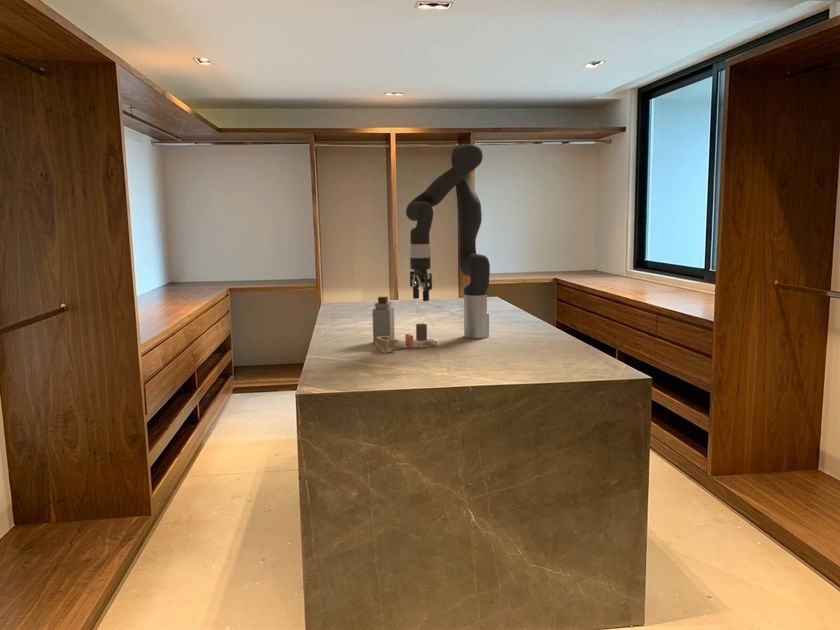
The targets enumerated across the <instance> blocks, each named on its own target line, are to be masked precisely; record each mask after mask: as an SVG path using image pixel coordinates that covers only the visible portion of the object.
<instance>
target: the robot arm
mask: <svg viewBox="0 0 840 630" xmlns="http://www.w3.org/2000/svg"><path fill="white" fill-rule="evenodd" d="M482 150H483V149H481V147H480V146H479V145H477V144H475V143H473V144H472V143H469V144H464V145H457V146H455V147H454V148H453V149H452V152H451V157H450V159H451V167H450V168H449V169H448V170H446V171H444V172H443V173H442V174H441V175H439V176H438V177H437V178H435V179H434V180H433V181H432V182H431V184H429V186H428V187H426V189H425V190H424V191H423V192H421V193H420V194H418V195H417V196H416V197H415V198H413V199H412V200H411V201H410V202H409V203H408V204H407V207H406V209H405V210H406V211H405V215H406V217H407V219H408V220H410V221H413V222H416V225H415V227H414V228H412V229H411V230H410V236H409V237H410V239H409V240H410V241H409V242H410V248H409V264H410V265H409V266H410V267H409V268H410V271H409V286H410V287H411V289H412V298H413V299H414V300H417V299H419V298H420V289H419V288H420V287H421V290H422V301H423V302H429V301H430V291H432V289H433V278H432V277H433V276H432V275H433V274H432V273H431V272H428V270H430V269H431V246H430V231H431V229H432V224H433V220H434V219H433V218H434V209H433V207H435V206H438V205H439V204H441V202H442V201H443V200H444V199H445V197H446V196H447V195H448V194H449V193H450V192H451V191H452V189H454V187H455V192H456V202H457V203H456V204H457V205H456V206H457V209H456V210H457V221H458V228H459V229H458V231H459V268H460V271H461V273H462V275H463V276H465V277H469V279H470V280H469V284H468V285H466V286H465V287H464V288H463V334H464V335H463V336H464V338H466V339H485V338H488V337H490V313H489V312H488V290H489V286H490V277H491V276H490V275H491V273H490V272H491V270H490V269H491V264H490V261H489V258H488V257H487V256H486V255H484V254H479V253H478V254H477V248H476V247H477V246H476V244H477V243H476V242H477V241H476V240H477V236H478V233H479V231H480V228H481V224H482V219H483V218H482V216H483V215H482V204H481V201H480V198H479V196H478V194H477V192H476V191H475V189H474V187H473V184H472V182H471V177H470V174H471V172H473V171H474V170H476V169H477V168H478V167H479V166H480V165H481V163H482V161H483V154H484V153H483V151H482Z"/></svg>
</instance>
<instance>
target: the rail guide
mask: <svg viewBox="0 0 840 630" xmlns="http://www.w3.org/2000/svg"><path fill="white" fill-rule="evenodd" d="M433 346H435V347H438V340H435V339H434V341H426V342H419V347H420V348H419V347H418V348H419V349H423V348H422V347H426V348H433Z"/></svg>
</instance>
